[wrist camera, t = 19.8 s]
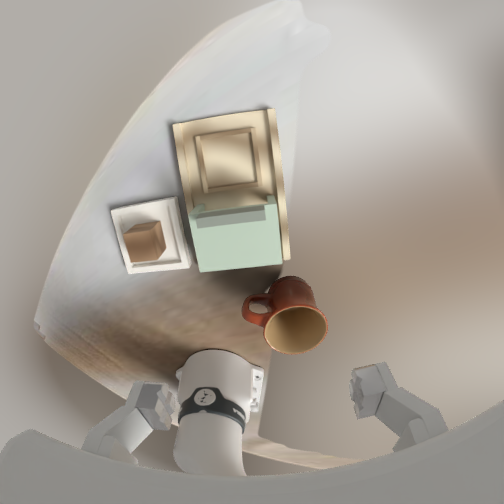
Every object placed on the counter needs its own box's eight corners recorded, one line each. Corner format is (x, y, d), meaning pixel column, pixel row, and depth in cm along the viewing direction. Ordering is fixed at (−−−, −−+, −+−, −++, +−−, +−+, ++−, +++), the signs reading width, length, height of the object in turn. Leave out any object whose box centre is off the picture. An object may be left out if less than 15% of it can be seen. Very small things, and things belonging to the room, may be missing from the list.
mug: (322, 276, 43) (338, 312, 34) (303, 318, 47) (312, 358, 37) (251, 257, 42) (250, 292, 33) (237, 303, 46) (233, 343, 36)
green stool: (279, 247, 41) (284, 272, 33) (207, 255, 41) (196, 281, 34) (273, 194, 38) (278, 208, 30) (197, 204, 38) (183, 220, 31)
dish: (191, 263, 43) (189, 267, 41) (132, 269, 43) (128, 273, 42) (177, 196, 39) (174, 198, 37) (115, 208, 39) (110, 210, 38)
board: (289, 255, 42) (290, 259, 41) (200, 265, 43) (199, 269, 42) (274, 109, 34) (274, 108, 32) (175, 125, 34) (172, 124, 33)
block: (166, 248, 41) (157, 260, 37) (141, 251, 41) (130, 262, 37) (160, 220, 39) (149, 230, 35) (134, 224, 40) (122, 234, 36)
